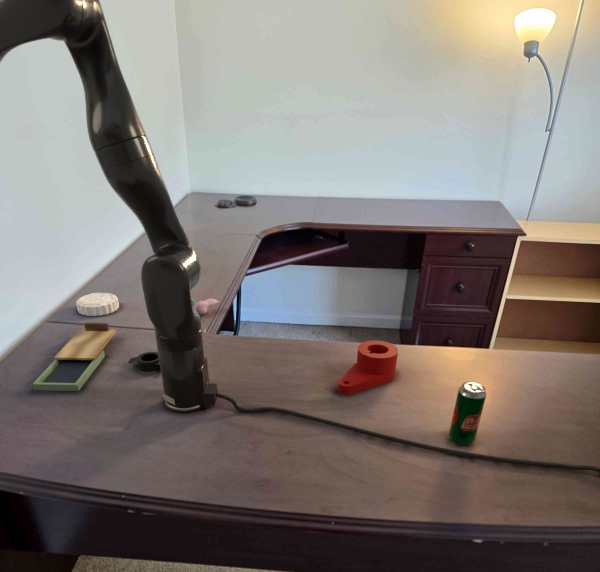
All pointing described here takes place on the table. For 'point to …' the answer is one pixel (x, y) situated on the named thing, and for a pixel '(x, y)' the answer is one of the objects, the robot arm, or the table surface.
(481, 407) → the soda can
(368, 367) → the lever
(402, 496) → the table surface
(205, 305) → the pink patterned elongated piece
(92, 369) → the sliding lid box
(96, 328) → the slide lid
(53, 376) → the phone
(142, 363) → the black wing nut
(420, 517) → the table surface
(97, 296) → the mooncake
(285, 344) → the table surface
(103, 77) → the robot arm
